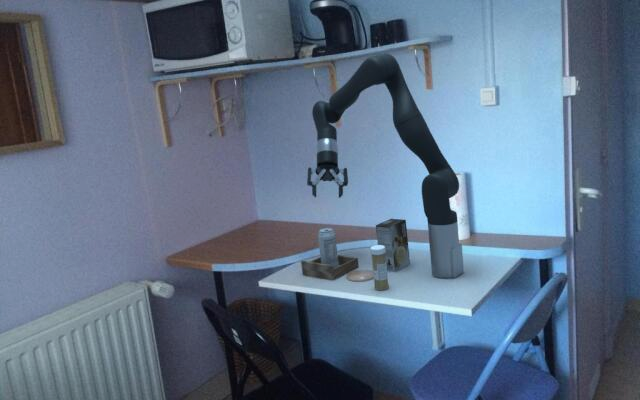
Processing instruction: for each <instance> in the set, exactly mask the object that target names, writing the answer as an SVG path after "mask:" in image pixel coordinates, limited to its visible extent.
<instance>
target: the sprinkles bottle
mask: <svg viewBox="0 0 640 400" xmlns="http://www.w3.org/2000/svg"><path fill="white" fill-rule="evenodd" d="M385 252H386V250H385V246H383V245H378V244H375V245H372V246H371V247H370V254H371V263H372V270H373V275H374V279H373V282H374V289H375V290H377V291H384V290H388V289H389V288H390V285H389V281H388V279H389V278H388V271H387V264H386V256H385V254H386V253H385Z"/></svg>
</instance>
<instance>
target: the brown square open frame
mask: <svg viewBox="0 0 640 400" xmlns="http://www.w3.org/2000/svg"><path fill="white" fill-rule="evenodd" d="M338 262H339V266H338V267H336V268H333V265H327V264H321V257H320V256H319V257H317V258H315V259H312V260H310V261H308V260H301V261H300V265H301V270H302V271H301V272H302V276H306V277H312V278H318V279H323V280H328V281H335V280H337V279H340V278H341V277H343V276H345V275H347V274H348V273H350V272H353V271H356V269H358V268H359V266H360V265H359V258H358V257H354V256H347V255H339V254H338Z"/></svg>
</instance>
